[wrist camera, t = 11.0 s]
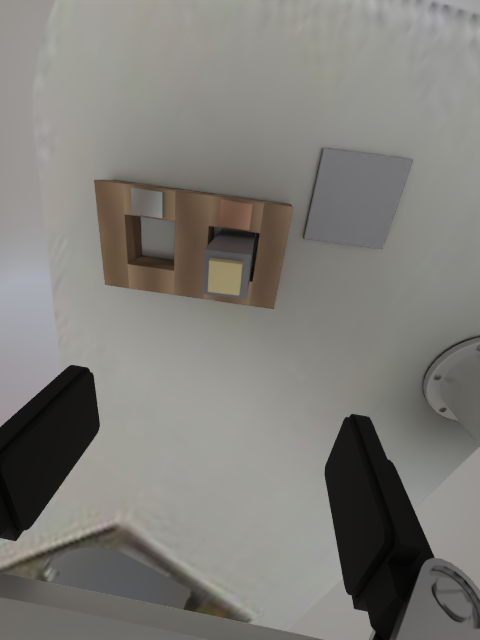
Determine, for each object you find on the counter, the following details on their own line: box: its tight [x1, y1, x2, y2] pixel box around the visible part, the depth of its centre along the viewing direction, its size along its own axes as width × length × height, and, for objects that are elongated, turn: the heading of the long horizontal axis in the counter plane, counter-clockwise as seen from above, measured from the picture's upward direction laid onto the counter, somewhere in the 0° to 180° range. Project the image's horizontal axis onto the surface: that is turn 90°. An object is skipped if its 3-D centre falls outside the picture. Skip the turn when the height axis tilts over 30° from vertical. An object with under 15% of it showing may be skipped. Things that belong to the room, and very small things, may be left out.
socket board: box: [94, 180, 293, 309], centre depth 28 cm, size 18×10×4 cm, turn 83°
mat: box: [304, 148, 413, 249], centre depth 27 cm, size 8×8×1 cm
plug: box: [202, 229, 256, 299], centre depth 25 cm, size 4×4×11 cm
